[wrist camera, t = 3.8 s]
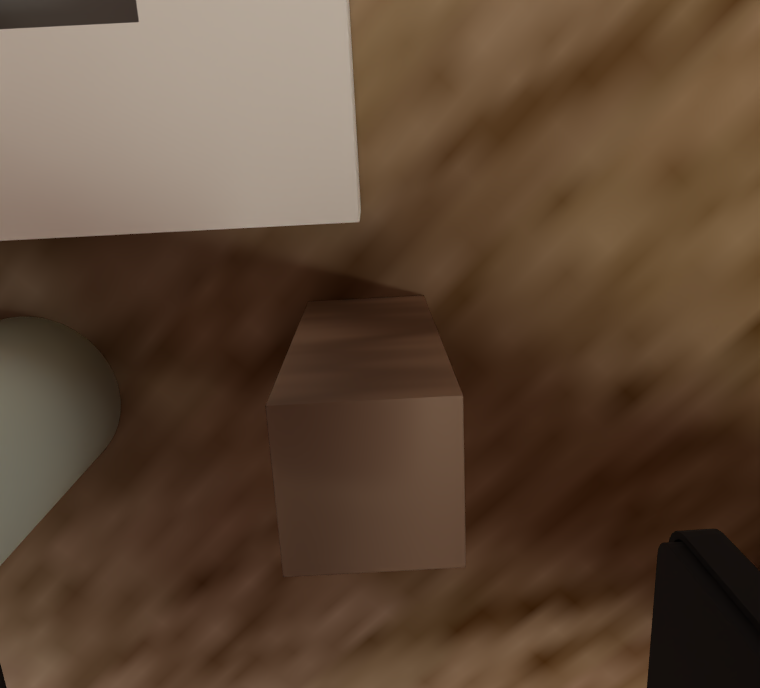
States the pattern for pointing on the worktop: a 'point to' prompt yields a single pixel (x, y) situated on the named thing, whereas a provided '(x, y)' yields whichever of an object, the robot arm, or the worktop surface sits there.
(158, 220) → the cream socket block
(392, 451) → the walnut square peg
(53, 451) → the sage round peg
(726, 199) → the worktop surface
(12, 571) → the worktop surface
